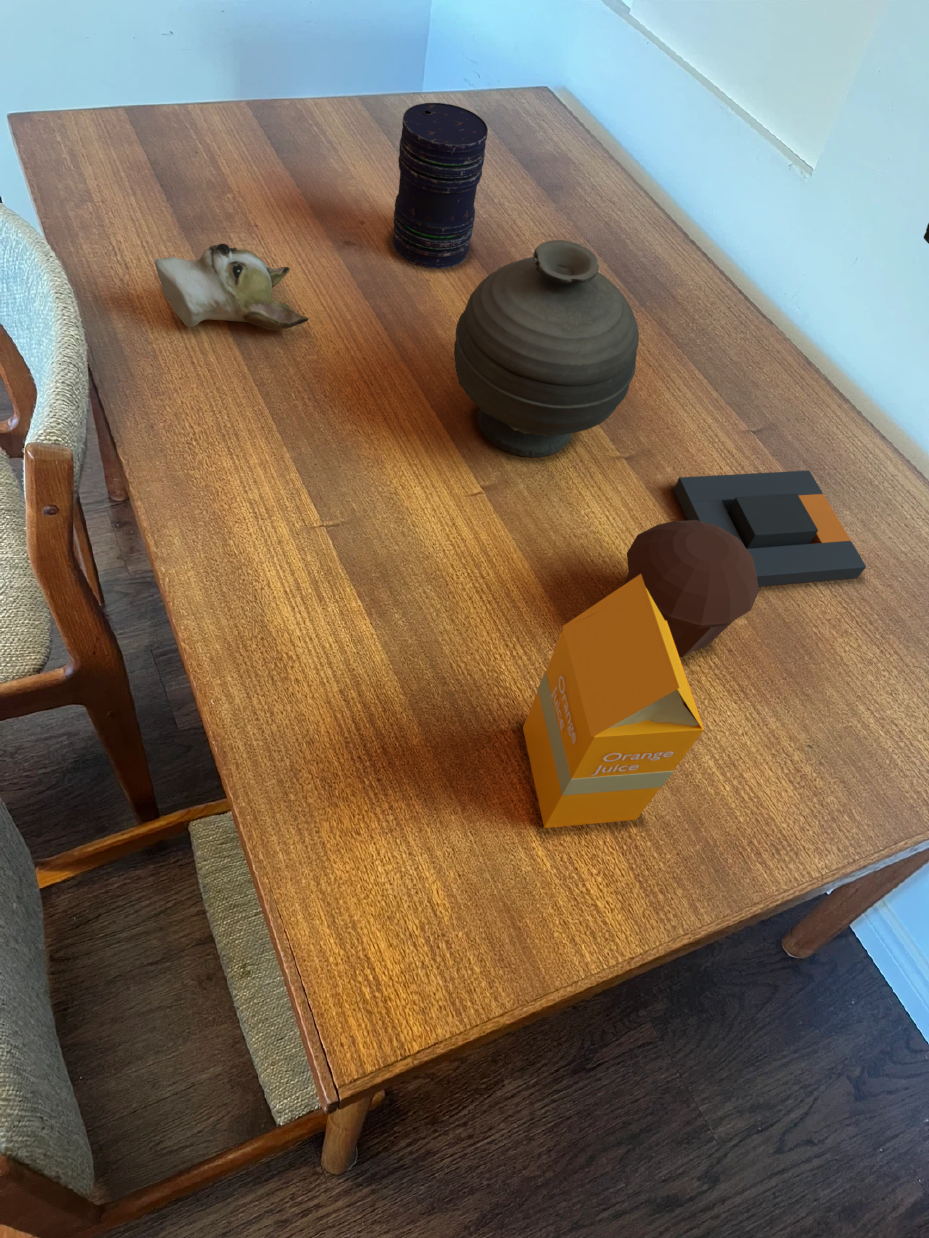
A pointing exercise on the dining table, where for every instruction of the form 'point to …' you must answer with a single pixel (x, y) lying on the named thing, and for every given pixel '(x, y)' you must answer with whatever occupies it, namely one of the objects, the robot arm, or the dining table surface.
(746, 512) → the black block
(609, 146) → the dining table surface
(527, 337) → the pot
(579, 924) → the dining table surface
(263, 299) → the ceramic sculpture
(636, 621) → the orange juice
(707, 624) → the muffin
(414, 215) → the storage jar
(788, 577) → the socket pad
